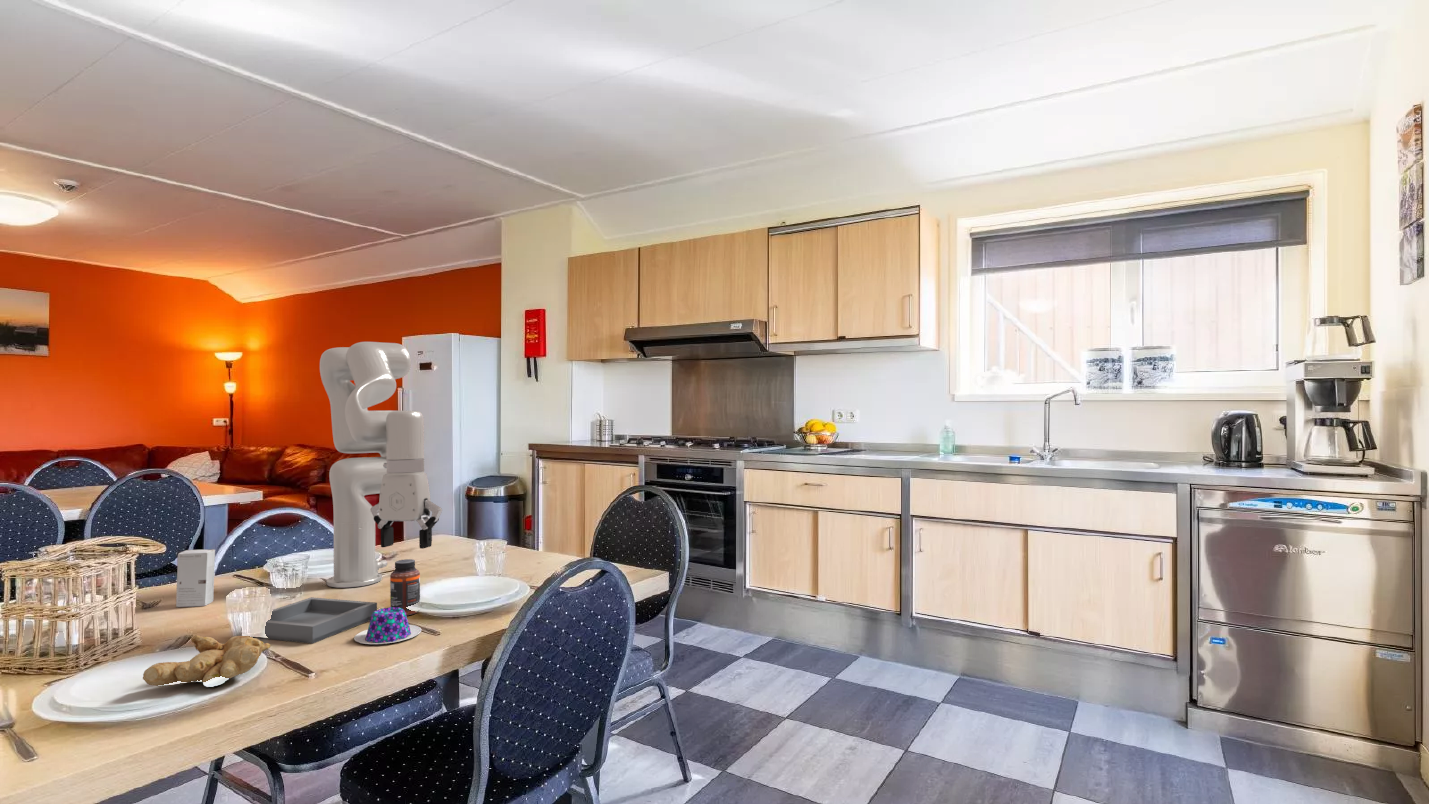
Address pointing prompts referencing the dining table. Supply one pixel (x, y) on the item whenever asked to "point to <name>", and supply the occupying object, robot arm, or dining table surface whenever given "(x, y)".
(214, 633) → the dining table surface
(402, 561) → the supplement bottle
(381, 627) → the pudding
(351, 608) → the tray
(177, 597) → the skincare box
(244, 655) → the ginger root
